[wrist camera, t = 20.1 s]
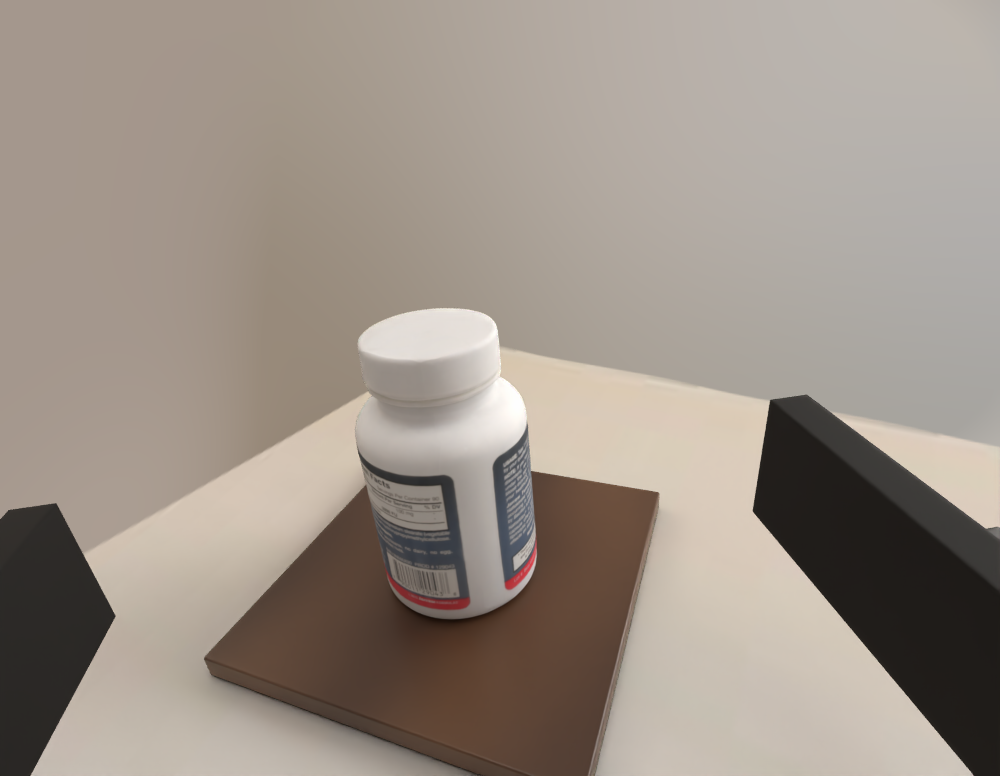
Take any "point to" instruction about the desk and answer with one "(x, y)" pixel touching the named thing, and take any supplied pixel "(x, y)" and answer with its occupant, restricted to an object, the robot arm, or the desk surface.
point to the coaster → (459, 639)
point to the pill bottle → (446, 462)
